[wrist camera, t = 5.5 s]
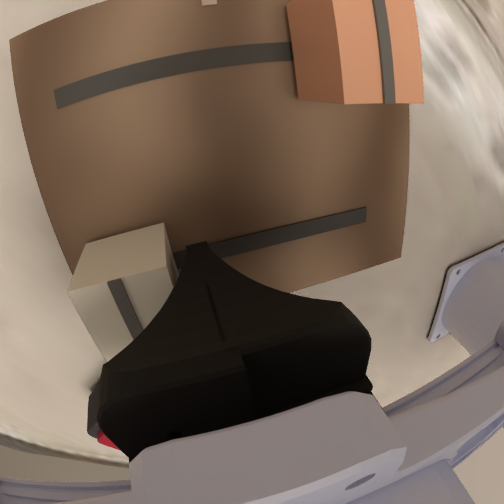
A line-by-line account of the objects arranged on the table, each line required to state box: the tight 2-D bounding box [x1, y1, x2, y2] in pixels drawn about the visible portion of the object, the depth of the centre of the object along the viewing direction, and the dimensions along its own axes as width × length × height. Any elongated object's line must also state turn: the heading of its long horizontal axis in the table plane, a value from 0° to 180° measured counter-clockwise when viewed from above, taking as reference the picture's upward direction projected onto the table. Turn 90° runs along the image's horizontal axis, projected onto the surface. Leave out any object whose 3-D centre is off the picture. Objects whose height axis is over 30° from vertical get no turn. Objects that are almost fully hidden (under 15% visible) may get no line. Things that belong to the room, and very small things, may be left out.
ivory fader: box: [67, 223, 179, 362], centre depth 10 cm, size 3×4×3 cm
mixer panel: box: [9, 0, 409, 293], centre depth 11 cm, size 15×13×2 cm
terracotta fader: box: [286, 0, 424, 104], centre depth 8 cm, size 3×4×3 cm
